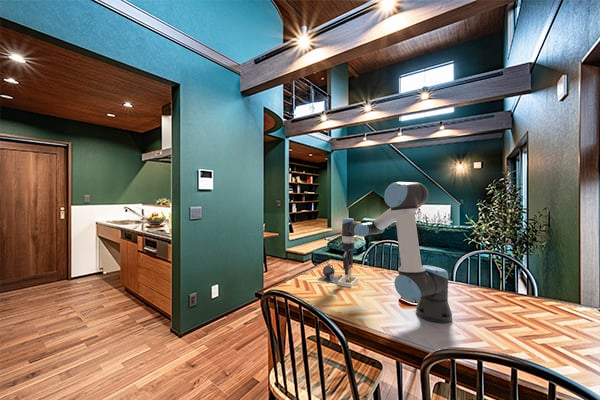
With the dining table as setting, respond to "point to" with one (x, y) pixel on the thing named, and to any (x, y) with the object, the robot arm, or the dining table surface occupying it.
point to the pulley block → (329, 275)
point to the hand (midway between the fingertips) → (348, 278)
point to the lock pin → (349, 275)
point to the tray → (346, 282)
